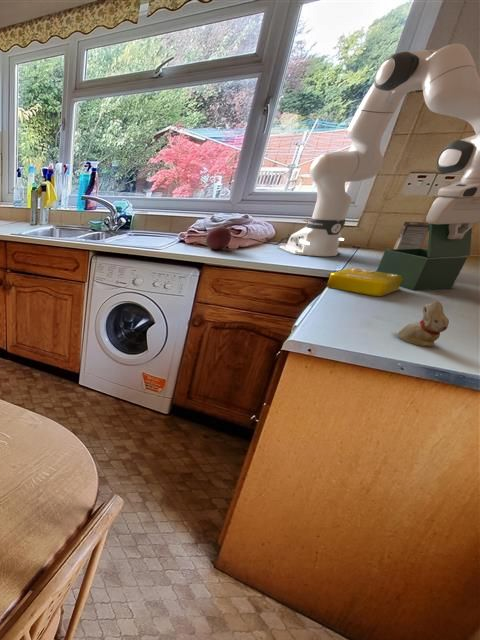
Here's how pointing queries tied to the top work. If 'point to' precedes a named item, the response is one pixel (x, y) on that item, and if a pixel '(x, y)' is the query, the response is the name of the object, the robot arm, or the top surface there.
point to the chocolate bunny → (426, 326)
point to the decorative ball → (218, 238)
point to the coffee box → (412, 235)
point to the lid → (447, 242)
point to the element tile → (365, 281)
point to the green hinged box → (421, 268)
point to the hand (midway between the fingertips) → (454, 238)
